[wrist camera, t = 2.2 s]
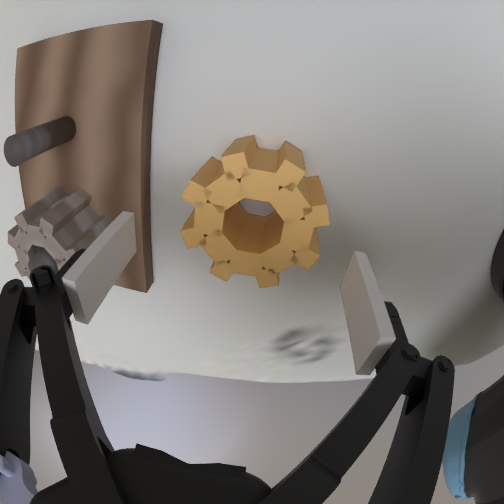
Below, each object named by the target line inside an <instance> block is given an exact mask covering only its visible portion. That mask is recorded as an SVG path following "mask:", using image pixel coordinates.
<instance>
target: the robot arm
mask: <svg viewBox="0 0 504 504" xmlns="http://www.w3.org/2000/svg"><path fill="white" fill-rule="evenodd" d="M136 251H137V250H136V237H135V222H134V213H132V212H125V211H123V212H122V213H121V214H120V215H119V216H118V217H117V218H116V219H115V220H114V221H113V222H112V223H111V224H110V225H109V226H108V227H107V228H106V229H105V230H104V231H103V232H102V233H101V234H100V235H99V236H98V237H97V239H96V240H95V241H94V242H93V243H92V244H91V245H90V246H89V247H88V248H87V249H83V248H82V249H80V250H79V251H77V252H75V253H74V254H73V255H72V256H71V257H70V258H69V260H68V261H67V262H66V263H65V264H64V265H63V266H62V267H61V269H60V270H59V271H58V272H57V273H56V274H54V271H53V268H52V267H51V266H48V265H42V266H39V267H36V268H35V269H34V270H32V272H31V273H30V276H29V278H30V281H31V284H32V286H33V287H24V284H23V282H22V281H21V280H19V279H13V280H10V281H8V282H7V283H6V284H5V285H4V287H3V288H2V291H1V294H0V503H1V504H322V503H323V502H324V501H325V500H326V499H327V498H328V497H329V496H330V495H331V493H332V492H333V491H334V490H335V489H336V488H337V486H338V485H339V484H340V482H341V478H342V477H343V475H344V474H345V473H346V472H347V470H348V469H349V468H350V467H351V466H352V464H353V463H354V462H355V461H356V459H357V458H358V457H359V455H360V454H361V453H362V452H363V450H364V449H365V448H366V446H367V445H368V444H369V442H370V441H371V439H372V438H373V437H374V435H375V434H376V432H377V431H378V429H379V428H380V427H381V425H382V424H383V422H384V421H385V419H386V418H387V416H388V415H389V413H390V411H391V410H392V408H393V407H394V405H395V404H396V402H397V400H398V399H399V397H400V395H401V394H403V395H406V397H405V401H404V405H403V408H402V412H401V416H400V419H399V422H398V426H397V429H396V432H395V436H394V439H393V442H392V445H391V448H390V450H389V453H388V456H387V459H386V462H385V464H384V467H383V470H382V472H381V475H380V477H379V480H378V482H377V485H376V487H375V489H374V492H373V494H372V496H371V499H370V501H369V503H368V504H430V503H431V499H432V496H433V493H434V490H435V486H436V483H437V479H438V475H439V471H440V467H441V463H442V464H443V473H444V478H445V482H446V485H447V487H448V489H449V491H450V493H451V494H452V495H455V498H456V499H458V500H464V499H465V500H468V499H471V498H472V497H474V499H475V502H476V504H504V375H503V376H502V377H501V378H500V379H499V380H498V381H496V382H495V383H494V384H492V385H491V386H490V387H489V388H487V389H486V390H484V391H483V392H480V393H479V394H477V395H476V396H475V397H474V399H473V400H472V401H470V402H469V403H468V404H467V405H465V406H464V407H462V408H461V409H460V410H458V411H457V412H456V413H455V414H454V415H453V417H452V418H451V419H450V413H451V405H452V395H453V385H454V372H455V370H454V365H453V363H452V362H451V361H450V360H449V359H448V358H447V357H445V356H442V355H440V356H437V357H436V358H435V359H434V360H433V361H431V360H428V359H425V358H423V357H420V353H419V351H418V350H417V349H416V348H415V347H414V346H413V345H411V344H409V343H408V340H407V337H406V334H405V331H404V328H403V325H402V324H401V323H402V322H401V319H400V318H399V314H398V311H397V309H396V308H395V306H394V305H393V304H392V303H391V302H385V301H384V300H383V297H382V295H381V292H380V289H379V286H378V283H377V281H376V278H375V275H374V273H373V270H372V267H371V265H370V262H369V260H368V257H367V255H366V253H364V252H359V251H354V252H353V255H352V258H351V260H350V263H349V265H348V268H347V270H346V273H345V275H344V278H343V280H342V283H341V285H340V290H341V294H342V299H343V304H344V309H345V314H346V319H347V324H348V330H349V335H350V341H351V347H352V353H353V359H354V365H355V371H356V374H359V375H370V374H371V373H372V372H373V370H374V369H376V374H377V375H376V376H375V378H374V379H373V380H372V381H371V383H370V384H369V385H368V386H367V388H366V389H365V391H364V392H363V393H362V395H361V396H360V397H359V398H358V400H357V401H356V402H355V404H354V405H353V406H352V407H351V408H350V409H349V411H348V412H347V413H346V414H345V415H344V417H343V418H342V419H341V420H340V421H339V423H338V424H337V425H336V426H335V427H334V428H333V429H332V430H331V431H330V433H329V434H328V435H327V436H326V437H325V438H324V439H323V440H322V441H321V442H320V443H319V444H318V446H317V447H316V448H315V449H314V450H313V451H312V452H311V453H310V454H309V455H308V456H307V457H306V458H305V459H304V460H303V461H302V462H301V463H300V464H299V465H298V466H297V467H296V468H294V469H293V470H292V471H291V472H290V473H289V474H288V475H287V476H286V477H285V478H283V479H282V480H281V481H280V482H279V483H278V484H277V485H275V486H274V487H273V488H272V489H271V488H270V487H269V486H268V485H267V484H266V483H265V482H264V481H262V480H261V479H259V478H258V477H256V476H254V475H252V474H250V473H247V472H246V467H242V466H234V465H227V464H221V463H212V464H211V463H210V464H188V463H185V462H183V461H181V460H179V459H177V458H175V457H173V456H171V455H169V454H167V453H165V452H163V451H161V450H157V449H153V448H150V447H147V446H143V445H140V444H136V448H129V449H128V448H127V449H120V450H116V451H114V449H113V447H112V445H111V443H110V441H109V440H108V438H107V436H106V434H105V431H104V429H103V426H102V424H101V421H100V419H99V416H98V413H97V411H96V408H95V405H94V403H93V400H92V397H91V394H90V391H89V388H88V385H87V381H86V378H85V375H84V372H83V368H82V365H81V361H80V358H79V354H78V350H77V346H76V342H75V338H74V334H73V330H72V325H71V321H70V319H69V317H70V316H71V314H72V313H73V314H74V317H75V320H76V321H79V322H82V323H85V324H88V323H89V322H90V320H91V319H92V317H93V315H94V314H95V312H96V311H97V309H98V307H99V306H100V304H101V303H102V301H103V300H104V298H105V297H106V295H107V294H108V292H109V290H110V289H111V287H112V286H113V284H114V283H115V281H116V280H117V279H118V277H119V276H120V274H121V273H122V271H123V270H124V268H125V267H126V265H127V264H128V263H129V261H130V260H131V258H132V257H133V255H134V254H135V253H136ZM491 278H492V284H493V287H494V289H495V291H496V292H497V294H498V295H499V297H500V298H501V300H502V301H503V302H504V232H503V234H502V236H501V238H500V241H499V243H498V245H497V248H496V251H495V254H494V258H493V263H492V271H491ZM37 335H38V343H39V351H40V357H41V364H42V370H43V375H44V380H45V385H46V390H47V395H48V399H49V403H50V407H51V411H52V416H53V418H52V419H51V420H50V424H51V429H52V432H53V435H54V439H55V442H56V445H57V449H58V452H59V455H60V457H61V460H62V463H63V466H64V469H65V471H66V474H67V477H66V478H65V479H63V480H61V481H59V482H57V483H55V484H53V485H51V486H49V487H47V488H45V489H43V490H41V491H39V492H38V491H37V489H36V483H37V481H36V478H35V476H34V473H33V470H32V469H31V467H30V466H29V463H30V396H31V395H30V394H31V380H32V368H33V359H34V350H35V343H36V336H37ZM449 419H450V421H449Z"/></svg>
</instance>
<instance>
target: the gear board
mask: <svg viewBox="0 0 504 504" xmlns="http://www.w3.org/2000/svg"><path fill="white" fill-rule="evenodd" d="M162 25H163V24H162V23H160V22H157V21H154V20H145V21H135V22H127V23H119V24H112V25H106V26H100V27H95V28H89V29H84V30H80V31H75V32H71V33H67V34H63V35H59V36H55V37H52V38H48V39H45V40H41V41H38V42H35V43H32V44H29V45H26V46H23V47H20V48H18V50H17V60H16V75H15V128H16V134H14V135H12V136H9V137H8V138H7V139H6V141H5V144H4V155H5V158H6V160H7V162H8V163H9V164H10V165H11V166H13V167H16V166H18V165H19V172H20V179H21V186H22V192H23V198H24V204H25V210H24V211H22V212H21V213H20V214H18V215H17V216H16V217H14V218H15V220H16V222H17V225H16V226H15V227H13V228H12V229H11V230H10V231H8V244H9V245H10V246H12V247H13V248H14V249H15V251H16V255H17V258H18V262H17V263H16V264H15V266H16V268H17V270H18V271H19V273H20V275H21V276H27V277H28V278H29V276H30V273H31V272H32V270H34V269H35V268H36V267H39V266H42V265H48V266H51V267H52V268H53V271H54V274H56V273H57V272H58V271H59V270H60V269H61V267H62V266H63V265H64V264H65V263H66V262H67V261H68V260H69V258H70V257H71V256H72V255H73V254H74V253H75V252H77V251H79V250H80V249H82V248H83V249H87V248H88V247H89V246H90V245H91V244H92V243H93V242H94V241H95V240H96V239H97V237H98V236H99V235H100V234H101V233H102V232H103V231H104V230H105V229H106V228H107V227H108V226H109V225H110V224H111V223H112V222H113V221H114V220H115V219H116V218H117V217H118V216H119V215H120V214H121V213H122V212H123V211H125V212H132V213H134V222H135V237H136V250H137V251H136V253H135V254H134V255H133V257H132V258H131V260H130V261H129V263H128V264H127V265H126V267H125V268H124V270H123V271H122V273H121V274H120V276H119V277H118V279H117V280H116V281H115V283H114V284H113V285H117V286H120V287H124V288H128V289H132V290H136V291H140V292H145V293H147V292H148V290H149V288H150V287H151V285H152V283H153V268H152V251H151V226H150V154H151V130H152V114H153V100H154V89H155V78H156V69H157V60H158V53H159V45H160V38H161V31H162ZM29 279H30V278H29Z"/></svg>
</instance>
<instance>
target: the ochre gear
mask: <svg viewBox="0 0 504 504" xmlns="http://www.w3.org/2000/svg"><path fill="white" fill-rule="evenodd" d="M220 158H221V161H222V162H220V161H219V160H217V159H215V158H213V157H211V159H210V160H209V161H208V162H207V163H206V164H205V165H204V166H203V167H202V168H201V169H200V170H199V171H198V172H197V173H196V175H195V176H194V177H193V178H192V179H191V180H190V182H189V184H188V186H187V188H186V190H185V192H184V194H183V196H182V199H184V200H186V201H187V202H189V203H191V204H193V205H194V206H195V209H194V210H193V212H192V213H191V215H190V216H189V218H188V219H187V221H186V222H185V224H184V226H183V227H182V229H181V230H180V232H181V234H182V237H183V239H184V242H185V244H186V247H187V248H193V247H199V246H201V247H202V248H203V249H204V250H205V252H206V253H207V254H208V255H209V256H210V257H211V258H212V259H213V260H214V261H213V264H212V267H211V269H210V272H209V273H211V274H213V275H215V276H217V277H219V278H221V279H222V280H224V281H226V282H227V281H228V279H229V278H230V276H231V275H232V274H233V272H234V273H239V274H244V275H250V276H255V277H256V279H257V282H258V285H259V288H262V287H270V286H277V285H279V272H280V271H282V270H284V269H286V268H288V267H290V266H292V265H294V264H297V265H299V266H300V267H302V268H304V269H306V270H307V271H308V270H309V269H310V267H311V266H312V265H313V264H314V263H315V262H316V261H317V260H318V258H319V257H320V251H319V244H318V238H317V232H316V227H320V226H327V225H330V221H329V214H328V207H327V202H326V199H325V195H324V192H323V189H322V186H321V182H320V179H319V176H314V177H308V178H305V176H304V175H305V173H306V170H305V165H304V160H303V155H302V151H301V150H300V149H298V148H297V147H295V146H293V145H292V144H290V143H289V142H287V141H285V142H284V144H283V145H282V147H281V148H280V150H279V151H273V150H268V149H262V148H257V144H256V140H255V136H254V135H252V136H248V137H243V138H239V139H236V140H235V141H234V142H233V143H232V144H231V146H230V147H229V148H228V149H227V150H226V151H225V152H224V154H223V155H222V156H221V157H220ZM243 198H248V199H254V200H259V201H265V202H270V203H271V205H272V206H273V207H274V209H275V210H276V211H275V212H274V213H272V214H270V215H269V216H267V217H262V216H257V215H251V214H247V213H246V212H245V210H244V209H243V208H242V207H241V205H240V204H239V203H238V202H239V201H240V200H242V199H243Z"/></svg>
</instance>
